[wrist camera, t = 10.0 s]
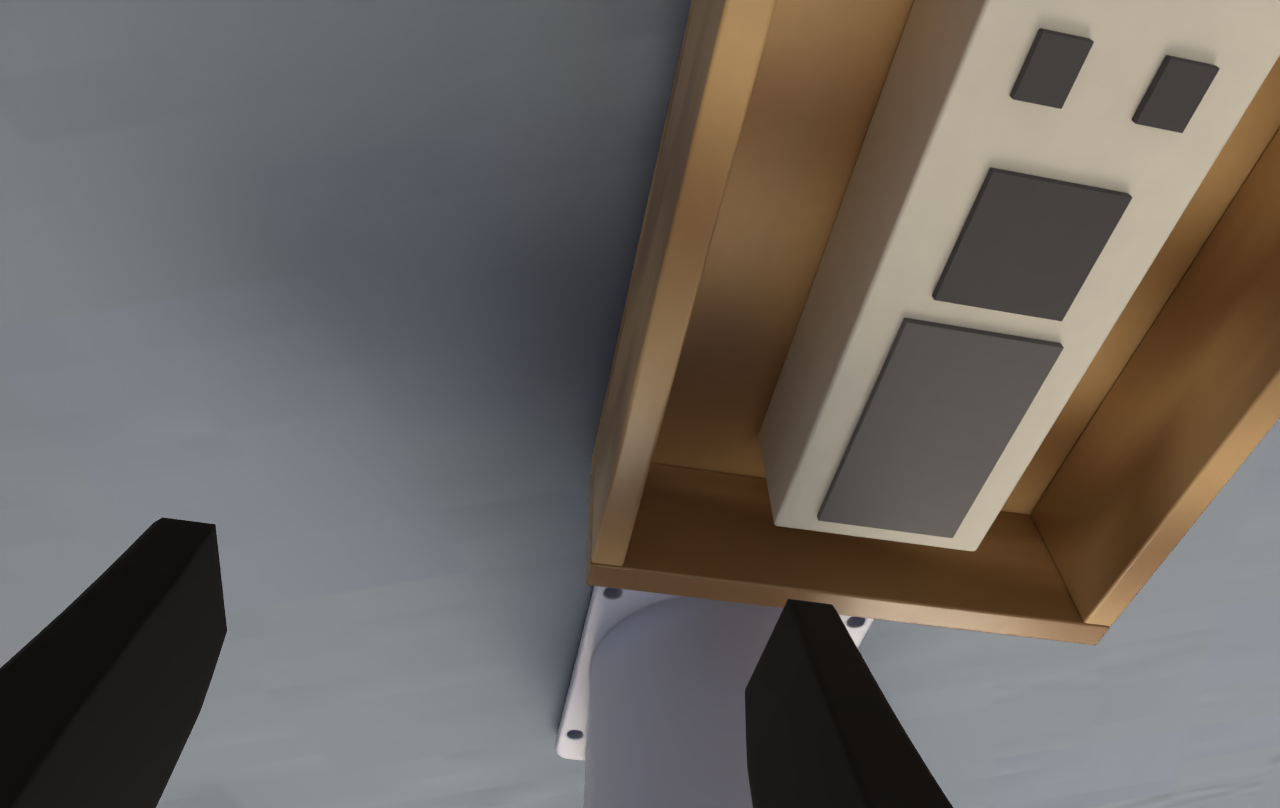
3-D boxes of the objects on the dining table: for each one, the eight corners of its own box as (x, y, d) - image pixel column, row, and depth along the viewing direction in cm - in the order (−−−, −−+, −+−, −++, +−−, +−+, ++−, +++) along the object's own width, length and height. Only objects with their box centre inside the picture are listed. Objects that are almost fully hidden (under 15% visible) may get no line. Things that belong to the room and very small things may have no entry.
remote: (938, 461, 22) (978, 558, 20) (756, 435, 22) (773, 532, 19) (1299, -220, 14) (1449, -200, 11) (1017, -293, 13) (1109, -290, 11)
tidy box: (1035, 522, 24) (1096, 646, 21) (590, 461, 23) (585, 586, 20) (1580, -311, 13) (1870, -312, 10) (806, -534, 12) (872, -615, 9)
